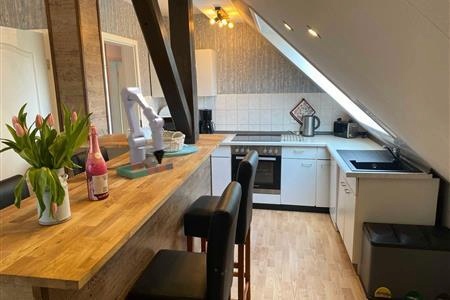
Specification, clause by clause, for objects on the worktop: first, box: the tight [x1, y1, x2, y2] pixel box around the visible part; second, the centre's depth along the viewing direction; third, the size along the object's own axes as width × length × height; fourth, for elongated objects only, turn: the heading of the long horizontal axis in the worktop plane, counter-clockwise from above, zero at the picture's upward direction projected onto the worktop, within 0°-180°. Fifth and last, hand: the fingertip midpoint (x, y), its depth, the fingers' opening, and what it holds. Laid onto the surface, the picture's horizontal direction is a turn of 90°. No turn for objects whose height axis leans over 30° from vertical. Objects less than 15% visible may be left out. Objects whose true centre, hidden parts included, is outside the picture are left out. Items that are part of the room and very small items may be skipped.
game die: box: [141, 154, 161, 169], centre depth 178 cm, size 9×8×10 cm
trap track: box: [115, 162, 174, 180], centre depth 176 cm, size 16×25×3 cm, turn 138°
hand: (159, 163), depth 183 cm, fingers closed
